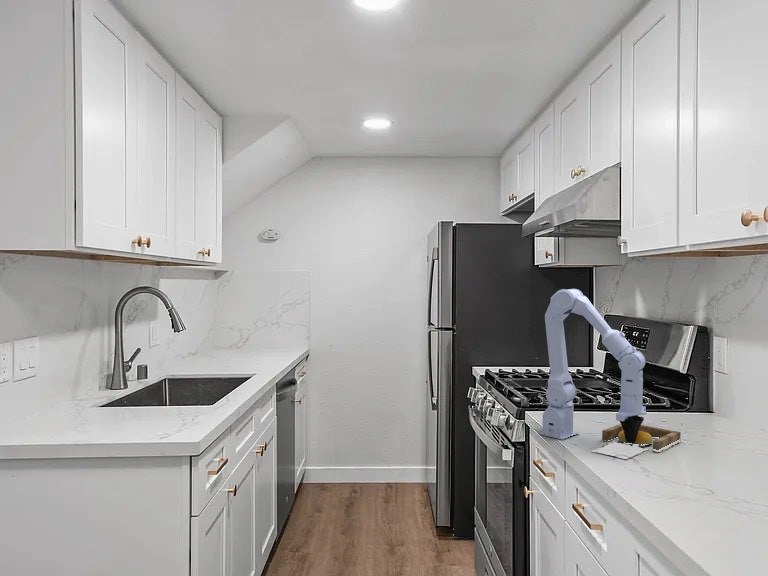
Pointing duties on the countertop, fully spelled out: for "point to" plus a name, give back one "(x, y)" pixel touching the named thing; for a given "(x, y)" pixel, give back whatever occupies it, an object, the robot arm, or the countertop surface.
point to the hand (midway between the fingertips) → (630, 442)
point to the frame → (663, 434)
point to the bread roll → (641, 438)
